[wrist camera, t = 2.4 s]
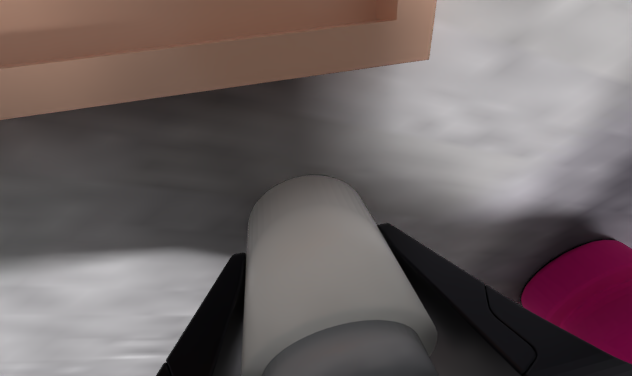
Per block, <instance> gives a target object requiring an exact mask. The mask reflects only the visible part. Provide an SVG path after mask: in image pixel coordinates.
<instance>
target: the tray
mask: <svg viewBox="0 0 632 376" xmlns="http://www.w3.org/2000/svg"><path fill="white" fill-rule="evenodd" d="M436 2H437V0H0V120H5V119H12V118H19V117H26V116H33V115H40V114H47V113H54V112H61V111H68V110H75V109H82V108H89V107H96V106H104V105H111V104H118V103H125V102H132V101H139V100H146V99H153V98H160V97H167V96H174V95H181V94H188V93H195V92H203V91H210V90H217V89H224V88H231V87H238V86H245V85H252V84H259V83H266V82H273V81H280V80H287V79H294V78H301V77H309V76H316V75H323V74H330V73H337V72H344V71H351V70H358V69H365V68H372V67H379V66H386V65H393V64H400V63H407V62H415V61H422V60H429V55H430V48H431V40H432V32H433V25H434V17H435V9H436Z"/></svg>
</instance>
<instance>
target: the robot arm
mask: <svg viewBox="0 0 632 376" xmlns="http://www.w3.org/2000/svg"><path fill="white" fill-rule="evenodd" d="M377 227H378V228H379V230H380V232H381V234H382V235H383V237H384V239H385V240H386V242H387V244H388V246H389V247H390V249H391V251H392V253H393V254H394V256H395V258H396V260H397V261H398V263H399V265H400V266H401V268H402V270H403V272H404V273H405V275H406V277H407V279H408V280H409V282H410V284H411V285H412V287H413V289H414V291H415V292H416V294H417V296H418V298H419V299H420V301H421V303H422V304H423V306H424V308H425V310H426V311H427V313H428V315H429V317H430V318H431V320H432V322H433V324H434V325H435V327H436V330H437V343H436V346H435V348H434V350H433V352H432V354H431V355H430V359H431V361H432V363H433V365H434V367H435V369H436V371H437V373H438V375H439V376H632V364H630V363H627V362H625V361H623V360H621V359H619V358H616V357H614V356H612V355H610V354H608V353H606V352H604V351H602V350H601V349H599V348H597V347H595V346H593V345H591V344H590V343H588V342H586V341H584V340H582V339H580V338H578V337H577V336H575V335H573V334H571V333H569V332H567V331H565V330H564V329H562V328H560V327H558V326H556V325H554V324H552V323H551V322H549V321H547V320H545V319H543V318H541V317H540V316H538V315H536V314H534V313H532V312H531V311H529V310H527V309H525V308H524V307H522V306H520V305H518V304H517V303H515V302H513V301H512V300H510V299H508V298H507V297H505V296H503V295H502V294H500V293H499V292H497V291H495V290H494V289H492V288H491V287H489V286H487V285H484V283H483V282H481V281H479V280H478V279H476V278H475V277H473V276H471V275H470V274H468V273H467V272H465V271H464V270H462V269H460V268H459V267H457V266H456V265H454V264H452V263H451V262H449V261H448V260H446V259H445V258H443V257H441V256H440V255H438V254H437V253H435V252H433V251H432V250H430V249H429V248H427V247H426V246H424V245H422V244H421V243H419V242H418V241H416V240H414V239H413V238H411V237H410V236H408V235H407V234H405V233H403V232H402V231H400V230H399V229H397V228H395V227H394V226H392V225H391V224H389V223H385V224H380V225H377ZM245 275H246V253H239V254H234V255H232V256H231V258H230V259H229V261H228V263H227V264H226V266H225V267H224V269H223V271H222V272H221V274H220V275H219V277H218V278H217V280H216V282H215V283H214V285H213V286H212V288H211V290H210V291H209V293H208V294H207V296H206V298H205V299H204V301H203V302H202V304H201V305H200V307H199V309H198V310H197V312H196V313H195V315H194V317H193V318H192V320H191V321H190V323H189V324H188V326H187V328H186V329H185V331H184V332H183V334H182V336H181V337H180V339H179V340H178V342H177V343H176V345H175V347H174V348H173V350H172V351H171V353H170V355H169V356H168V358H167V359H166V362H167V363H164V364H163V365H162V367H161V369H160V370H159V372H158V373H157V375H156V376H241V361H242V340H243V318H244V297H245Z"/></svg>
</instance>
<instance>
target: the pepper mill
mask: <svg viewBox="0 0 632 376" xmlns="http://www.w3.org/2000/svg"><path fill="white" fill-rule="evenodd" d="M521 302H522V306H523V307H524V308H525V309H527V310H529V311H531V312H532V313H534V314H536V315H538V316H540V317H541V318H543V319H545V320H547V321H549V322H551V323H552V324H554V325H556V326H558V327H560V328H562V329H564V330H565V331H567V332H569V333H571V334H573V335H575V336H577V337H578V338H580V339H582V340H584V341H586V342H588V343H590V344H591V345H593V346H595V347H597V348H599V349H601V350H602V351H604V352H606V353H608V354H610V355H612V356H614V357H616V358H619V359H621V360H623V361H625V362H627V363H630V364H632V249H631V248H629V247H628V246H626V245H625V244H623V243H621V242H619V241H615V240H599V241H594V242H590V243H587V244H585V245H582V246H579V247H577V248H575V249H572V250H570V251H568V252H566V253H564V254H563V255H561V256H559V257H558V258H556V259H555V260H553V261H551V262H550V263H549V264H547V265H546V266H545V267H544V268H542V269H541V270H540V271H539V272H538V273H537V274H536V275H535V276H534V277H533V278H532V279H531V280H530V281H529V282H528V283H527V285H526V287H525V289H524V291H523V293H522V297H521Z"/></svg>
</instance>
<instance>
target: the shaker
mask: <svg viewBox="0 0 632 376" xmlns="http://www.w3.org/2000/svg"><path fill="white" fill-rule="evenodd" d="M436 343H437V330H436V327H435V325H434V324H433V322H432V320H431V318H430V317H429V315H428V313H427V311H426V310H425V308H424V306H423V304H422V303H421V301H420V299H419V298H418V296H417V294H416V292H415V291H414V289H413V287H412V285H411V284H410V282H409V280H408V279H407V277H406V275H405V273H404V272H403V270H402V268H401V266H400V265H399V263H398V261H397V260H396V258H395V256H394V254H393V253H392V251H391V249H390V247H389V246H388V244H387V242H386V240H385V239H384V237H383V235H382V234H381V232H380V230H379V228H378V227H377V225H376V223H375V221H374V220H373V218H372V216H371V215H370V213H369V211H368V209H367V208H366V206H365V204H364V202H363V201H362V199H361V197H360V196H359V194H358V193H357V192H356V191H355V190H354V189H353V188H352V187H351V186H350V185H348V184H347V183H345V182H343V181H341V180H338V179H336V178H333V177H328V176H322V175H308V176H300V177H296V178H292V179H289V180H287V181H284V182H282V183H280V184H278V185H276V186H275V187H273V188H271V189H270V190H269V191H267V192H266V193H265V194H264V195H263V196H262V197H261V198H260V199H259V200H258V201H257V203H256V204H255V206H254V207H253V209H252V211H251V214H250V217H249V221H248V233H247V254H246V275H245V297H244V318H243V340H242V361H241V376H439V375H438V373H437V371H436V369H435V367H434V365H433V363H432V361H431V359H430V355H431V354H432V352H433V350H434V348H435V346H436Z"/></svg>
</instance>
